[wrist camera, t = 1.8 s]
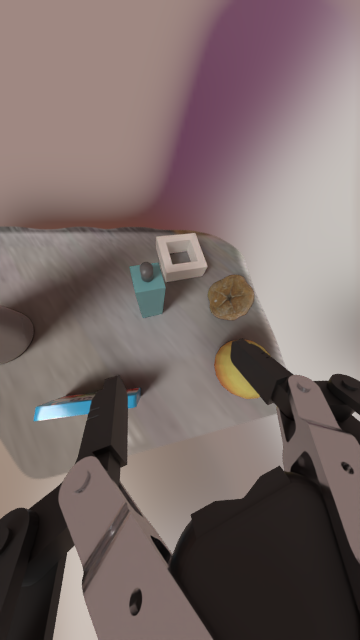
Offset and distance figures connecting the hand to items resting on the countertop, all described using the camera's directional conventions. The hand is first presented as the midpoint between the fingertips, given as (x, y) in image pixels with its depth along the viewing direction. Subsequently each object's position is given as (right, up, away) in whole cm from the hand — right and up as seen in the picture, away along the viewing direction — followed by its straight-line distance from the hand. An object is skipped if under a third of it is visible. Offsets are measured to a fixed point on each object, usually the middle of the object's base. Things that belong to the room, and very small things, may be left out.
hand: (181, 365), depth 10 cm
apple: (+10, -6, +19) cm, 23 cm away
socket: (0, +17, +24) cm, 29 cm away
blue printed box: (-13, -10, +14) cm, 22 cm away
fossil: (+9, +7, +23) cm, 26 cm away
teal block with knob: (-6, +6, +20) cm, 21 cm away
